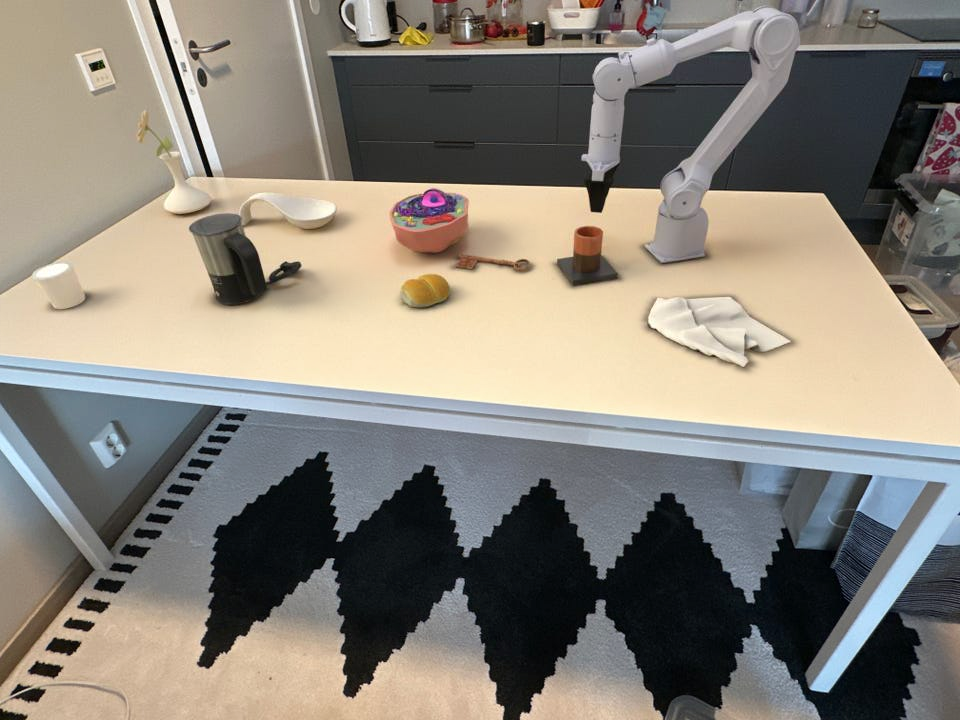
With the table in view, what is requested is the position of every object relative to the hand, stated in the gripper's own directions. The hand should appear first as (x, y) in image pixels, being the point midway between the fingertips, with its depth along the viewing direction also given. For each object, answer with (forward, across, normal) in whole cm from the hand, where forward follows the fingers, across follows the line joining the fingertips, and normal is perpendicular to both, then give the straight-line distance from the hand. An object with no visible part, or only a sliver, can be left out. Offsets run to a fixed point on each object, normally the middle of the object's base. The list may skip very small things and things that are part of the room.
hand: (599, 203), depth 114 cm
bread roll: (+11, +24, -28) cm, 39 cm away
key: (+11, +10, -19) cm, 24 cm away
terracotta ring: (+6, +8, -1) cm, 10 cm away
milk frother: (+11, +28, -62) cm, 69 cm away
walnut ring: (+9, +8, 0) cm, 13 cm away
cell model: (+11, +4, -34) cm, 36 cm away
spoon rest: (+11, 0, -72) cm, 73 cm away
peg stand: (+10, +8, 0) cm, 13 cm away
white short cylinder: (+12, +41, -97) cm, 106 cm away
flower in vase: (+12, -2, -104) cm, 104 cm away
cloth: (+10, +24, +23) cm, 35 cm away
